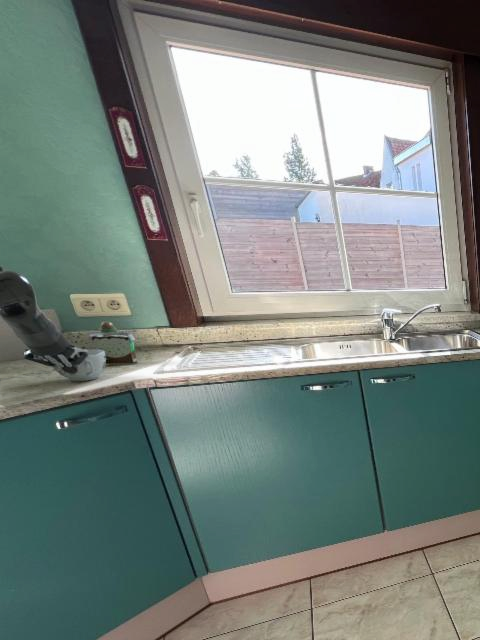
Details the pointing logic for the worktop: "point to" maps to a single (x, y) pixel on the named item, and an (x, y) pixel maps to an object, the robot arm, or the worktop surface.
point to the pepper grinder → (107, 327)
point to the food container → (115, 347)
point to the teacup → (86, 367)
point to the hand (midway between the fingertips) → (72, 370)
